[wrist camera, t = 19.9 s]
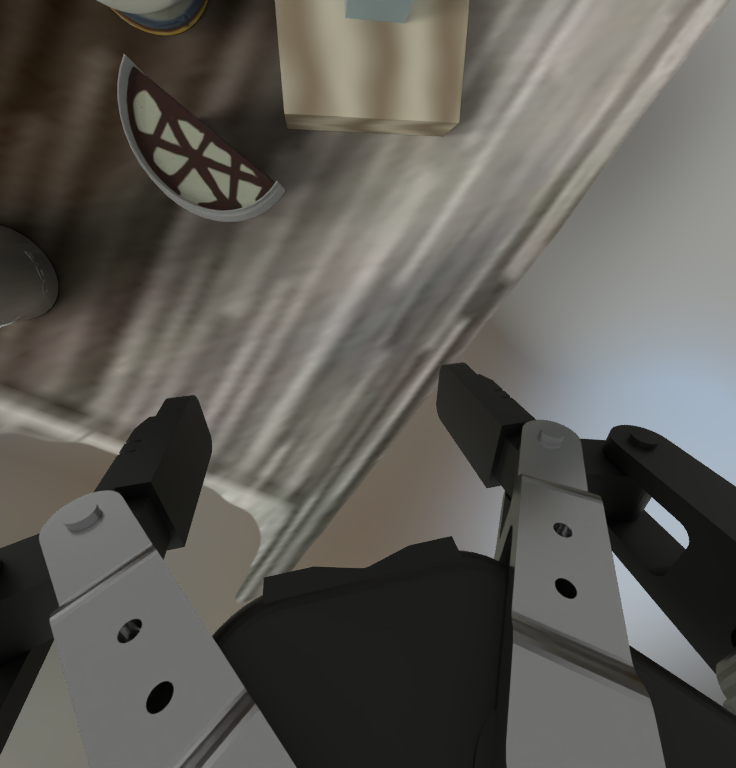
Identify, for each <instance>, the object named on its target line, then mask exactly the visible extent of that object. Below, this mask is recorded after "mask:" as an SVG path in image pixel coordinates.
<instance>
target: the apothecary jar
mask: <svg viewBox="0 0 736 768" xmlns="http://www.w3.org/2000/svg"><path fill="white" fill-rule="evenodd" d="M97 1H99V2H101V3H103V4H105V5H107V6H109V7H110V8H111V9H112V10H113V11H114V12H115V13H117V14H118V15H119V16H120V17H121V18H122V19H124V20H125V21H126V22H128V23H129V24H130V25H132V26H134V27H136V28H138V29H140V30H143V31H145V32H148V33H152V34H156V35H175V34H179V33H181V32H183V31H185V30H187V29H189V28H190V27H191V26H193V25H194V24H195V23H196V22H197V20H198V19H199V18H200V16H201V15H202V13H203V11H204V9H205V7H206V5H207V2H208V0H97Z"/></svg>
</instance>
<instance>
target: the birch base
mask: <svg viewBox="0 0 736 768" xmlns="http://www.w3.org/2000/svg"><path fill="white" fill-rule="evenodd" d="M469 1H470V0H414V2H413V5H412V7H411V9H410V12H409V14H408V17H407V19H406V22H405V23H394V22H383V21H372V20H361V19H350V18H345V0H275V8H276V20H277V32H278V44H279V56H280V68H281V80H282V92H283V104H284V114H285V119H286V124H287V129H300V130H321V131H342V132H363V133H384V134H405V135H426V136H444V135H445V134H447V133H448V132H449V131H450V130H451V129H453V128H454V127H455V126H456V125H457V124H458V123H459V118H460V106H461V94H462V83H463V71H464V59H465V48H466V36H467V24H468V13H469Z"/></svg>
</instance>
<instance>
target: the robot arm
mask: <svg viewBox="0 0 736 768" xmlns="http://www.w3.org/2000/svg"><path fill="white" fill-rule="evenodd" d="M57 295H58V280H57V276H56V273H55V271H54V268H53V266H52V264H51V262H50V261H49V260H48V258H47V257H46V255H45V254H44V253H43V252H42V251H41V250H40V249H39V248H38V247H37V246H36V245H35V244H34V243H33V242H32V241H30V240H29V239H28V238H26V237H25V236H24V235H22V234H20V233H18V232H16V231H14V230H13V229H10V228H7V227H4V226H2V225H0V327H1V326H5V325H9V324H13V323H16V322H20V321H24V320H28V319H32V318H36V317H38V316H41V315H43V314H45V313H46V312H47V311H48V310H49V309H51V308H52V306H53V304H54V303H55V301H56V298H57ZM436 406H437V412H438V416H439V418H440V420H441V421H442V423H443V424H444V426H445V427H446V429H447V430H448V432H449V433H450V435H451V436H452V438H453V439H454V441H455V442H456V444H457V445H458V446H459V448H460V450H461V451H462V452H463V454H464V455H465V457H466V458H467V460H468V461H469V463H470V464H471V466H472V467H473V469H474V470H475V472H476V473H477V475H478V476H479V478H480V479H481V480H482V482H483V483H484V485H485V486H486V488H491V487H495V486H501V485H502V487H503V488H504V490H505V492H504V495H503V500H502V508H501V514H500V522H499V529H498V537H497V545H496V550H495V556H494V559H492V558H490V557H487V556H485V555H481V554H478V553H474V552H468V551H459V550H458V548H457V546H456V544H455V542H454V540H453V538H452V536H450V537H446V538H441V539H436V540H432V541H428V542H423V543H419V544H414V545H410V546H407V547H405V548H403V549H402V550H400V551H398V552H396V553H394V554H392V555H390V556H388V557H386V558H385V559H383V560H381V561H379V562H377V563H375V564H373V565H371V566H369V567H367V568H335V567H310V568H306V569H301V570H296V571H292V572H287V573H283V574H278V575H274V576H269V577H265V578H264V586H263V595H262V596H260V597H258V598H256V599H255V600H253V601H252V602H250V603H249V604H247V605H246V606H244V607H242V608H241V609H240V610H239V611H237V612H236V613H235V614H234V615H233V616H231V617H230V618H229V619H228V620H227V621H226V622H225V623H224V624H223V625H222V626H221V627H220V628H219V629H218V630H217V631H216V632H215V634H214V635H213V636H211V634H210V633H209V631H208V629H207V628H206V626H205V625H204V623H203V622H202V620H201V618H200V617H199V615H198V614H197V612H196V611H195V609H194V608H193V606H192V604H191V603H190V601H189V600H188V598H187V596H186V595H185V594H184V592H183V590H182V589H181V587H180V585H179V584H178V582H177V581H176V579H175V578H174V576H173V575H172V573H171V571H170V570H169V568H168V567H167V565H166V564H165V562H164V557H165V554H166V551H167V550H171V549H176V548H181V547H184V546H185V543H186V540H187V537H188V533H189V530H190V526H191V523H192V519H193V516H194V512H195V509H196V505H197V502H198V498H199V495H200V491H201V488H202V485H203V481H204V478H205V474H206V471H207V467H208V464H209V460H210V457H211V453H212V440H211V435H210V432H209V429H208V426H207V423H206V421H205V418H204V415H203V412H202V409H201V406H200V403H199V401H198V399H197V397H196V396H194V395H191V396H183V397H175V398H168V399H166V400H165V401H164V403H163V405H162V406H161V408H160V410H159V411H158V413H157V415H156V416H154V417H149V418H147V419H146V420H145V421H144V422H142V423H141V424H140V425H139V426H138V427H136V428H135V429H134V430H133V432H132V434H131V435H130V437H129V438H128V440H127V441H126V443H127V444H124V446H123V447H122V449H121V451H120V452H119V453H120V455H117V457H116V458H115V460H114V462H113V463H112V465H111V466H110V468H109V469H108V471H107V472H106V474H105V475H104V477H103V478H102V480H101V482H100V483H99V485H98V486H97V488H96V489H95V491H94V492H93V493H90V494H87V495H84V496H82V497H80V498H77V499H75V500H73V501H72V502H70V503H68V504H67V505H65V506H64V507H62V508H61V509H60V510H58V511H57V512H56V513H54V515H52V516H51V517H50V518H49V520H48V521H47V522H46V523H45V525H44V526H43V527H42V529H41V531H40V533H39V534H37V535H35V536H32V537H29V538H26V539H24V540H21V541H18V542H16V543H13V544H11V545H8V546H6V547H3V548H0V754H1V752H2V750H3V748H4V746H5V744H6V741H7V739H8V737H9V735H10V733H11V731H12V729H13V726H14V724H15V722H16V720H17V718H18V716H19V714H20V712H21V709H22V707H23V705H24V703H25V701H26V699H27V697H28V694H29V692H30V690H31V688H32V686H33V684H34V681H35V679H36V677H37V675H38V673H39V671H40V668H41V667H42V664H43V662H44V660H45V658H46V656H47V654H48V652H49V649H50V647H51V645H52V643H53V641H54V640H55V643H56V647H57V651H58V654H59V658H60V661H61V665H62V669H63V673H64V676H65V680H66V683H67V687H68V691H69V694H70V698H71V702H72V705H73V709H74V712H75V716H76V719H77V723H78V727H79V731H80V735H81V738H82V742H83V745H84V749H85V752H86V756H87V760H88V764H89V767H90V768H736V487H735V486H734V485H732V484H731V483H729V482H728V481H727V480H725V479H724V478H722V477H721V476H720V475H718V474H717V473H715V472H714V471H712V470H711V469H709V468H708V467H707V466H705V465H704V464H702V463H701V462H699V461H698V460H696V459H695V458H693V457H692V456H691V455H689V454H688V453H686V452H685V451H683V450H682V449H680V448H679V447H678V446H676V445H675V444H673V443H672V442H670V441H669V440H667V439H666V438H664V437H663V436H661V435H659V434H657V433H655V432H653V431H650V430H647V429H645V428H641V427H637V426H631V425H620V426H616V427H613V428H612V429H611V431H610V433H609V435H608V437H607V439H606V440H592V439H591V440H590V439H579V437H578V436H577V434H576V433H574V432H573V431H572V430H570V429H569V428H567V427H565V426H564V425H561V424H559V423H556V422H552V421H548V420H536V419H535V418H534V417H533V416H531V415H530V414H529V413H528V412H527V411H526V410H525V409H524V408H523V407H521V406H520V405H519V404H518V403H517V402H516V401H515V400H514V399H512V398H510V396H509V395H508V394H507V393H506V392H505V391H502V388H500V387H499V386H498V385H497V384H496V383H495V382H494V381H493V380H491V379H489V378H486V377H484V376H482V375H480V374H478V375H477V374H476V373H475V372H474V371H473V370H472V369H471V368H470V367H469V366H468V365H467V364H465V363H455V364H447V365H442V367H441V368H440V373H439V383H438V393H437V402H436ZM651 497H653V498H654V499H655V500H656V501H657V502H658V503H659V504H660V505H661V506H662V507H664V508H665V509H666V510H667V511H668V512H669V513H670V514H672V515H673V516H674V517H675V518H676V519H677V520H678V521H679V522H680V523H681V524H682V525H683V526H684V528H685V529H686V531H687V533H688V536H689V546H688V547H687V549H685V548H684V547H683V546H681V545H680V544H679V543H678V542H677V541H676V540H675V539H674V538H673V537H672V536H671V535H670V534H669V533H668V532H667V531H666V530H665V529H664V528H663V527H661V526H660V525H659V524H658V523H657V522H656V521H655V520H654V519H653V518H652V517H651V516H650V515H649V514H648V513H647V512H646V511H645V510H644V508H645V507H646V505H647V503H648V502H649V500H650V499H651ZM612 551H613V552H614V553H615V555H616V556H617V557H618V558H619V560H620V561H621V562H622V563H623V564H624V566H625V567H626V568H627V569H628V570H629V571H630V573H631V574H632V575H633V576H634V577H635V579H636V580H637V581H638V582H639V583H640V585H641V586H642V587H643V588H644V589H645V591H646V592H647V593H648V594H649V595H650V597H651V598H652V599H653V600H654V601H655V602H656V604H657V605H658V606H659V607H660V608H661V609H662V611H663V612H664V613H665V614H666V616H667V617H668V618H669V619H670V620H671V621H672V623H673V624H674V625H675V626H676V627H677V628H678V630H679V631H680V632H681V633H682V634H683V636H684V637H685V638H686V639H687V640H688V642H689V643H690V644H691V645H692V646H693V648H694V649H695V650H696V651H697V652H698V654H700V656H701V657H702V658H703V659H704V661H705V662H706V663H707V664H708V665H709V667H710V668H711V669H712V670H713V671H714V673H715V674H716V676H717V679H718V683H719V685H720V688H721V690H722V692H723V694H724V696H725V697H726V700H725V701H724V702H723V707H722V706H721V705H719V704H718V703H716V702H715V701H713V700H712V699H710V698H709V697H707V696H705V695H704V694H703V693H701V692H699V691H698V690H696V689H695V688H693V687H692V686H690V685H689V684H687V683H686V682H684V681H683V680H681V679H680V678H678V677H677V676H675V675H674V674H672V673H671V672H669V671H668V670H666V669H664V668H663V667H662V666H660V665H659V664H657V663H655V662H654V661H652V660H651V659H649V658H648V657H646V656H645V655H643V654H642V653H640V652H639V651H637V650H635V649H634V648H633V647H631V646H630V645H629V643H628V637H627V632H626V626H625V621H624V615H623V610H622V605H621V599H620V594H619V588H618V583H617V578H616V572H615V566H614V561H613V555H612Z"/></svg>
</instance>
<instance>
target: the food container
mask: <svg viewBox="0 0 736 768" xmlns="http://www.w3.org/2000/svg"><path fill="white" fill-rule="evenodd" d="M117 98H118V105H119V112H120V118H121V121H122V125H123V128H124V132H125V135H126V137H127V140H128V142H129V145H130V147H131V149H132V151H133V153H134V155H135V156H136V158H137V160H138V162H139V163H140V165H141V166H142V168H143V169H144V170H145V172H146V173H147V174H148V176H149V177H150V178H151V179H152V180H153V182H154V183H155V184H156V185H157V186H158V187H159V188H160V189H161V190H162V191H163V192H164V193H165V194H166V195H167V196H168V197H169V198H171V199H172V200H173V201H174V202H176V203H177V204H178V205H180V206H181V207H183V208H185V209H186V210H188V211H190V212H192V213H194V214H196V215H198V216H201V217H203V218H207V219H211V220H214V221H223V222H237V221H243V220H247V219H251V218H253V217H256V216H258V215H260V214H262V213H264V212H265V211H267V210H268V209H270V208H271V207H272V206H273V205H274V204H275V203H276V202H277V201H278V200H279V199H280V198H281V196H282V195H283V194H284V192H285V191H286V190H285V189H284V188H283V187H282V185H280V184H279V183H278V181H276V182H274V181H273V180H271V179H270V178H269V177H268V176H267V175H266V174H264V173H263V172H261V171H260V170H259V169H258V168H257V167H255V166H254V165H253V164H252V163H251V162H249V161H248V160H247V159H246V158H245V157H243V156H242V155H241V154H240V153H238V152H237V151H236V150H235V149H234V148H232V147H231V146H230V145H229V144H228V143H226V142H225V141H224V140H223V139H222V138H220V137H219V136H218V135H217V134H216V133H214V132H213V131H212V130H211V129H210V128H208V127H207V126H206V125H205V124H204V123H202V122H201V121H200V120H199V119H197V118H196V117H195V116H194V115H192V114H191V113H190V112H189V111H188V110H187V109H185V108H184V107H183V106H182V105H181V104H179V103H178V102H177V101H176V100H175V99H173V98H172V97H171V96H170V95H169V94H167V93H166V92H165V91H164V90H163V89H161V88H160V87H159V86H158V85H156V84H155V83H154V82H153V81H152V80H150V79H149V78H148V77H147V76H146V75H145V74H144V73H143V72H142V71H141V70H140V69H139V68H138V67H137V66H136V65H135V64H134V63H133V62H132V61H131V60H130V59H129V58H128V57H127V56H126V55H125V54H124V55H123V58H122V62H121V65H120V69H119V75H118V82H117Z"/></svg>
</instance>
